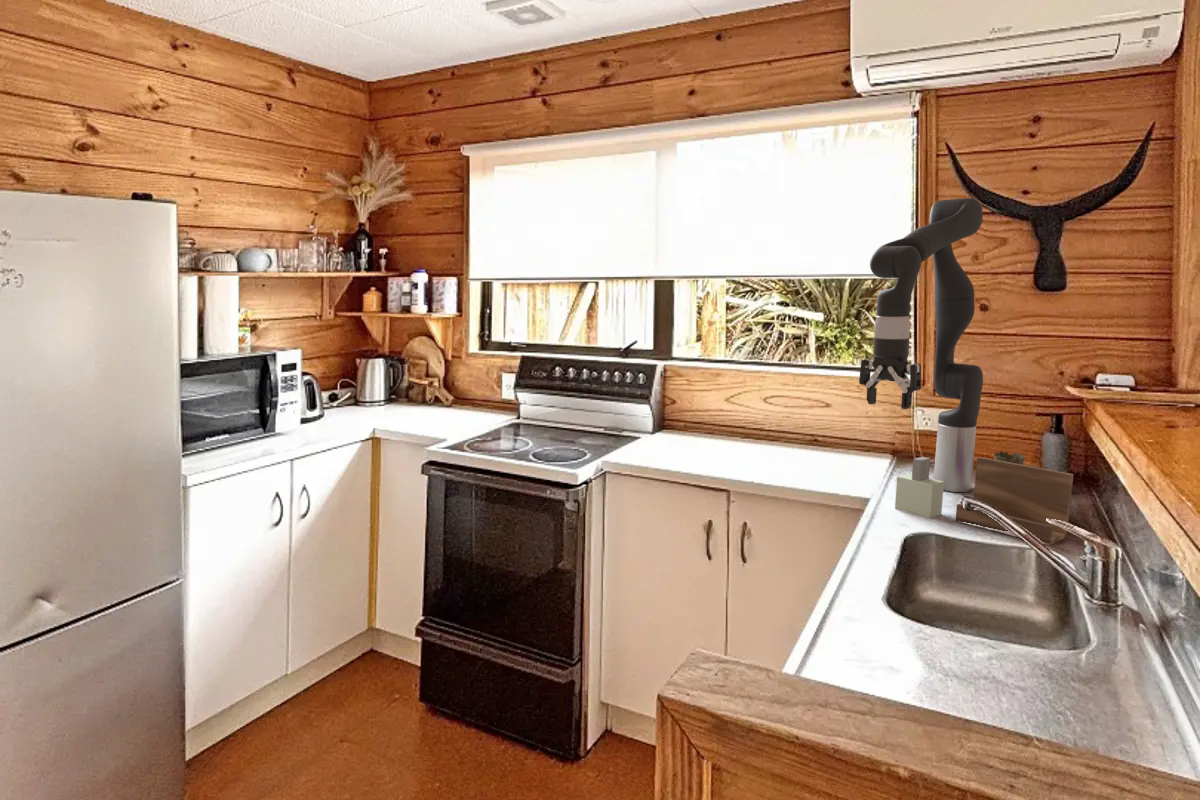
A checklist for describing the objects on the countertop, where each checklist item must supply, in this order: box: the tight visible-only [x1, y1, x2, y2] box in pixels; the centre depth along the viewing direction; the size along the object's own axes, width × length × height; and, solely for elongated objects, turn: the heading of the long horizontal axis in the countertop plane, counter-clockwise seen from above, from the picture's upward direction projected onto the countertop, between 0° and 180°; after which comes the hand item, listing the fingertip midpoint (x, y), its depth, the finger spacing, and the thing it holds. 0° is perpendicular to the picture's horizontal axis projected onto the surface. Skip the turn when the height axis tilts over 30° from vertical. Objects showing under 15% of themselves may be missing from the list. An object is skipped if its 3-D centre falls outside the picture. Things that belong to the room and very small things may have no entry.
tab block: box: [894, 456, 944, 518], centre depth 182 cm, size 5×9×13 cm, turn 37°
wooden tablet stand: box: [955, 456, 1074, 546], centre depth 169 cm, size 9×20×14 cm, turn 37°
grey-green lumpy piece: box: [993, 451, 1026, 465], centre depth 210 cm, size 8×7×8 cm
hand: (888, 406), depth 176 cm, fingers open, 8 cm apart
